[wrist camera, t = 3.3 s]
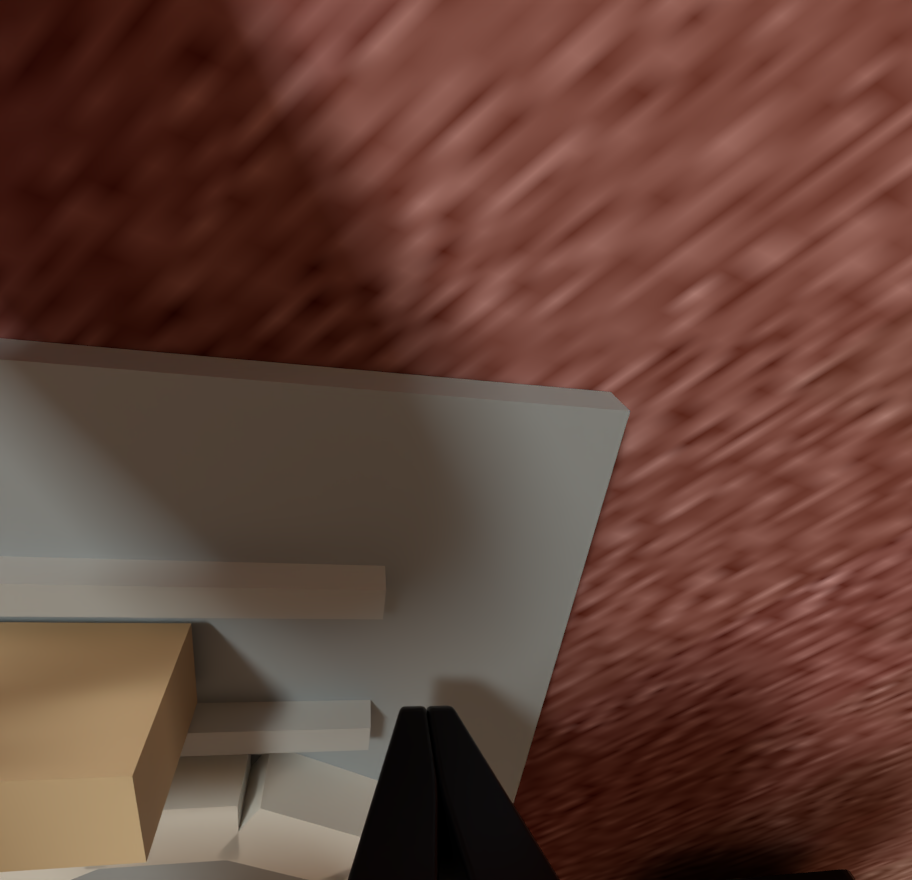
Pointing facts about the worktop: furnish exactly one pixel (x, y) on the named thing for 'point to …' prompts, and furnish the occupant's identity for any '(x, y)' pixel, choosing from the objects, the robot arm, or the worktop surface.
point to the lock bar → (89, 738)
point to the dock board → (300, 569)
